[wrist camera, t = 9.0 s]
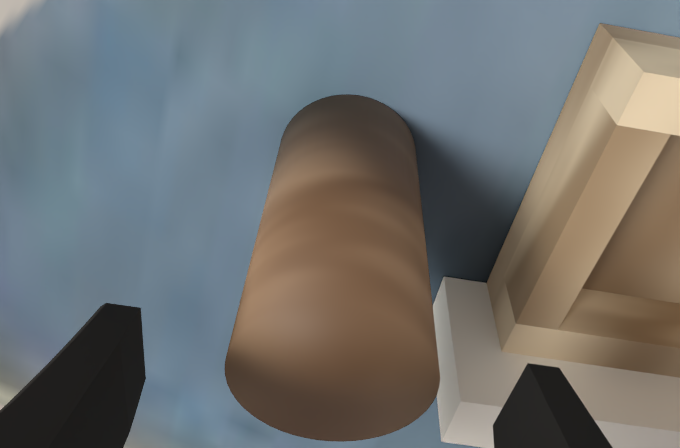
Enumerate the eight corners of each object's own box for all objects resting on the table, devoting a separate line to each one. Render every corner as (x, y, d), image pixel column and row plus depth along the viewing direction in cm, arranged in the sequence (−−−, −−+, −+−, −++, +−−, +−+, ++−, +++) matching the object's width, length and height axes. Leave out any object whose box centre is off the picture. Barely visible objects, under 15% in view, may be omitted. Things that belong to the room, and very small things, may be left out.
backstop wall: (775, 327, 21) (870, 458, 17) (743, 363, 22) (824, 493, 18) (443, 276, 20) (460, 401, 16) (428, 316, 21) (441, 441, 17)
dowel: (430, 107, 16) (467, 324, 10) (399, 220, 19) (411, 452, 12) (287, 83, 16) (229, 288, 10) (273, 201, 18) (221, 426, 12)
